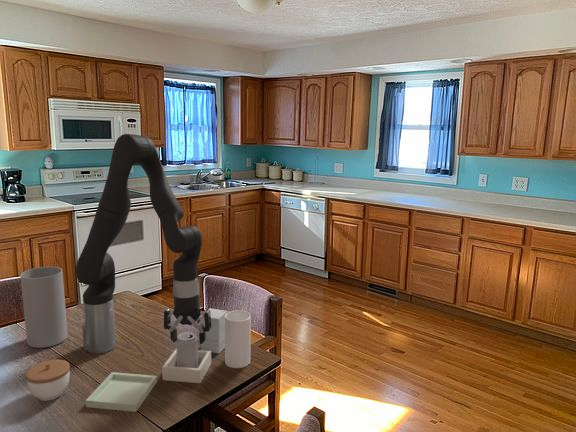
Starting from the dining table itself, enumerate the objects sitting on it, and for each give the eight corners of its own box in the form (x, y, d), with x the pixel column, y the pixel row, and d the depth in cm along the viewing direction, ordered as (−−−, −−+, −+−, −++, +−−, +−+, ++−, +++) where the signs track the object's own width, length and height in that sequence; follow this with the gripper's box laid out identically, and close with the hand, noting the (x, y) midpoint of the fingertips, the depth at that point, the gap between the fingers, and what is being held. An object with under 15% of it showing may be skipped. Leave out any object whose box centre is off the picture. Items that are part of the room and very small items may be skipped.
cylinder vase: (45, 351, 144) (38, 280, 139) (18, 344, 148) (11, 275, 144) (75, 336, 155) (70, 269, 150) (50, 329, 160) (44, 264, 155)
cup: (225, 355, 144) (225, 310, 141) (250, 354, 145) (250, 310, 142) (224, 368, 136) (223, 321, 133) (250, 367, 137) (250, 320, 134)
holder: (162, 380, 129) (162, 367, 129) (176, 360, 141) (176, 348, 140) (200, 383, 128) (200, 370, 127) (211, 362, 140) (211, 350, 139)
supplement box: (229, 344, 152) (228, 310, 149) (219, 354, 145) (218, 319, 143) (210, 340, 154) (210, 307, 152) (199, 350, 147) (199, 315, 145)
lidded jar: (31, 388, 124) (27, 358, 122) (72, 380, 128) (70, 351, 127) (25, 410, 114) (22, 377, 113) (70, 400, 119) (68, 369, 117)
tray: (86, 407, 116) (85, 400, 116) (112, 378, 130) (112, 372, 129) (135, 411, 115) (135, 405, 114) (157, 382, 128) (156, 375, 128)
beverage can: (193, 378, 131) (192, 341, 128) (173, 375, 132) (172, 339, 130) (201, 367, 137) (200, 332, 135) (182, 364, 138) (181, 329, 136)
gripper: (158, 295, 127) (161, 346, 130) (205, 298, 125) (207, 349, 128) (168, 286, 134) (170, 335, 137) (212, 288, 133) (214, 337, 136)
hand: (188, 342), depth 133 cm, fingers open, 8 cm apart
